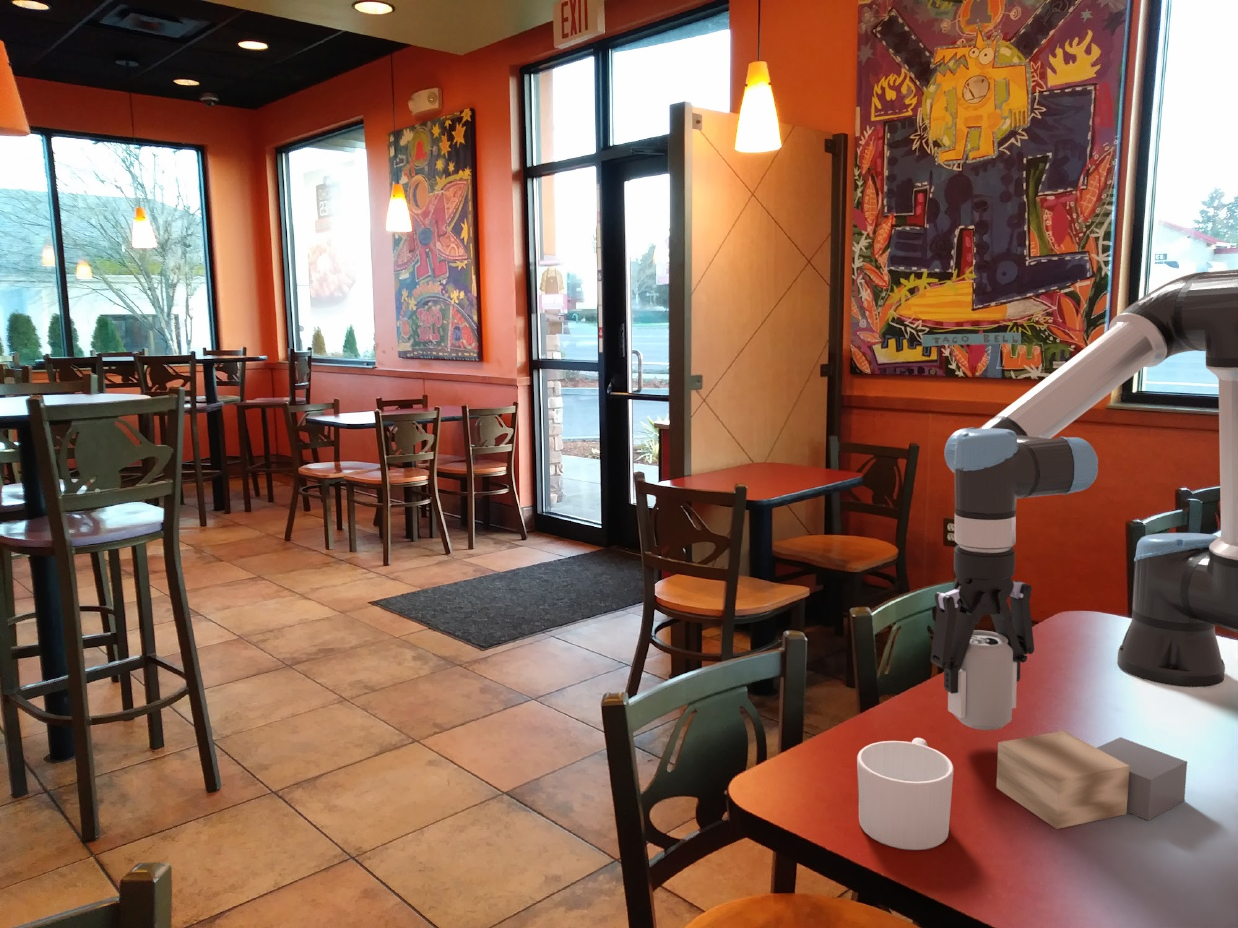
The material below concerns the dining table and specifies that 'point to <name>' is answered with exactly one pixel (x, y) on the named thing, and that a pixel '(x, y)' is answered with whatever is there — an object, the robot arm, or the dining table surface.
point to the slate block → (1149, 777)
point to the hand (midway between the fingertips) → (982, 708)
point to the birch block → (1062, 779)
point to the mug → (904, 794)
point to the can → (988, 681)
